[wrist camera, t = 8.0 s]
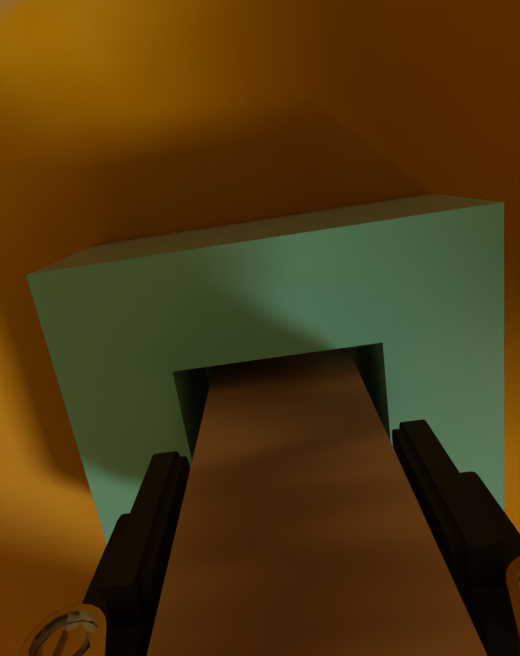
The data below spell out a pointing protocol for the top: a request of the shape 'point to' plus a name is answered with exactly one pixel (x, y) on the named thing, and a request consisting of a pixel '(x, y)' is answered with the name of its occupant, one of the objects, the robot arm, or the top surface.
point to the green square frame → (281, 327)
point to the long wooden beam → (303, 527)
